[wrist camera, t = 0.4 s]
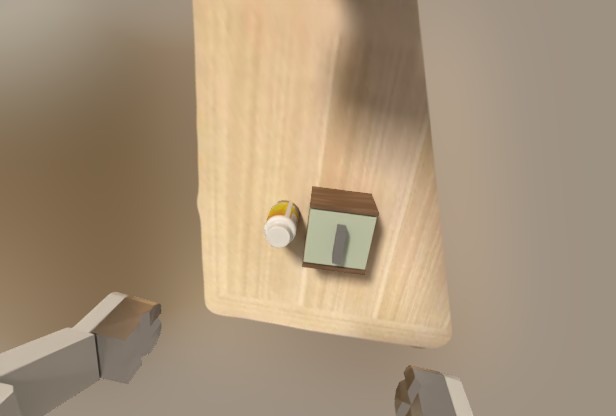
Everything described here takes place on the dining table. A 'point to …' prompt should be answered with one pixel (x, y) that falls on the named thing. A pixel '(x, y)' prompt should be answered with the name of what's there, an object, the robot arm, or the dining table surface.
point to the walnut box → (342, 203)
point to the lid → (339, 238)
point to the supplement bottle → (281, 223)
